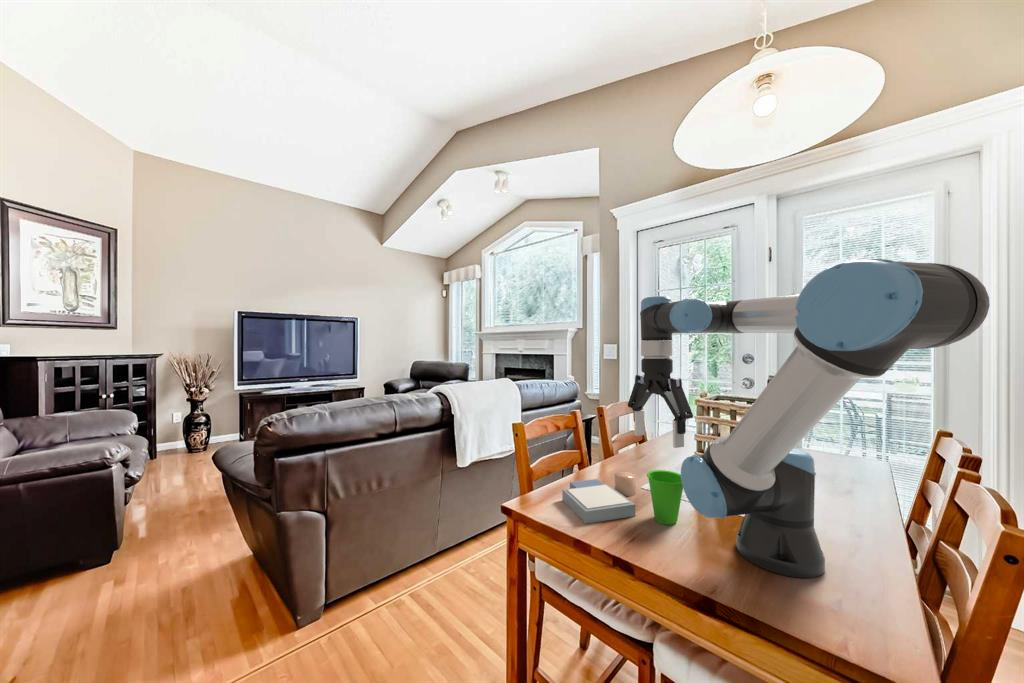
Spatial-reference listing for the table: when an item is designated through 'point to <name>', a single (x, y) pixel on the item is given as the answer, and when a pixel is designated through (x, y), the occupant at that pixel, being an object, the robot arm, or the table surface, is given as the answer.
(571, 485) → the book
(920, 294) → the robot arm
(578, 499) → the podium
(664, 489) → the cup
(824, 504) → the table surface
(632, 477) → the beige rounded block
